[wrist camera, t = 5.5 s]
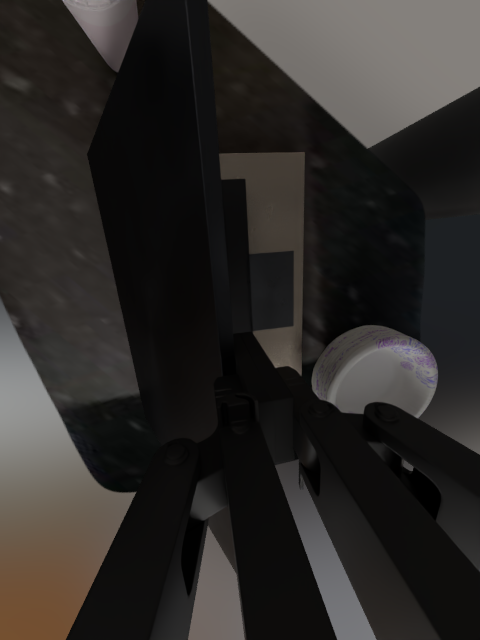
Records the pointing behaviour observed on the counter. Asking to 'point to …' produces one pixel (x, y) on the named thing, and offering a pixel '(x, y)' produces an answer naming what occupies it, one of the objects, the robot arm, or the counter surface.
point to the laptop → (266, 249)
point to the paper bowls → (375, 371)
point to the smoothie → (107, 25)
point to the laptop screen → (169, 223)
